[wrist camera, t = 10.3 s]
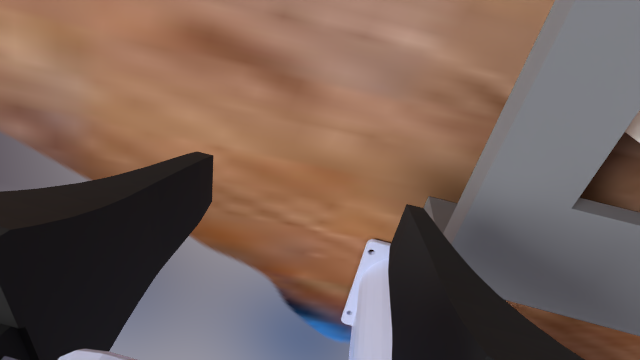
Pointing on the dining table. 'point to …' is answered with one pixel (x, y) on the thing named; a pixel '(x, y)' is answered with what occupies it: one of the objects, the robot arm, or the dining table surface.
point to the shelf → (558, 174)
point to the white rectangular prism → (634, 128)
